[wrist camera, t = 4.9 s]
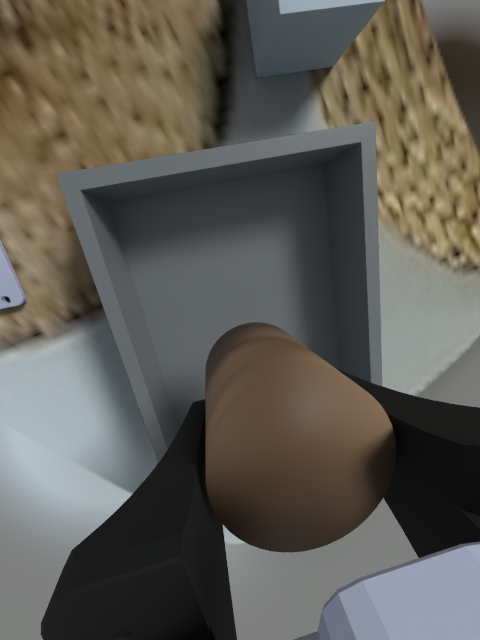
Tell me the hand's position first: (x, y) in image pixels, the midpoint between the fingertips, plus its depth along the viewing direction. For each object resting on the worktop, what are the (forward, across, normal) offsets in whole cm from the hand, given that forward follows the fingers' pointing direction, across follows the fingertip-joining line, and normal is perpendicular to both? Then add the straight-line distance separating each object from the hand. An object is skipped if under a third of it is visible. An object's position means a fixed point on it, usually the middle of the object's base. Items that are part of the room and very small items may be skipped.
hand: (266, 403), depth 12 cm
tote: (+10, -1, 0) cm, 10 cm away
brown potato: (+2, 0, -1) cm, 2 cm away
